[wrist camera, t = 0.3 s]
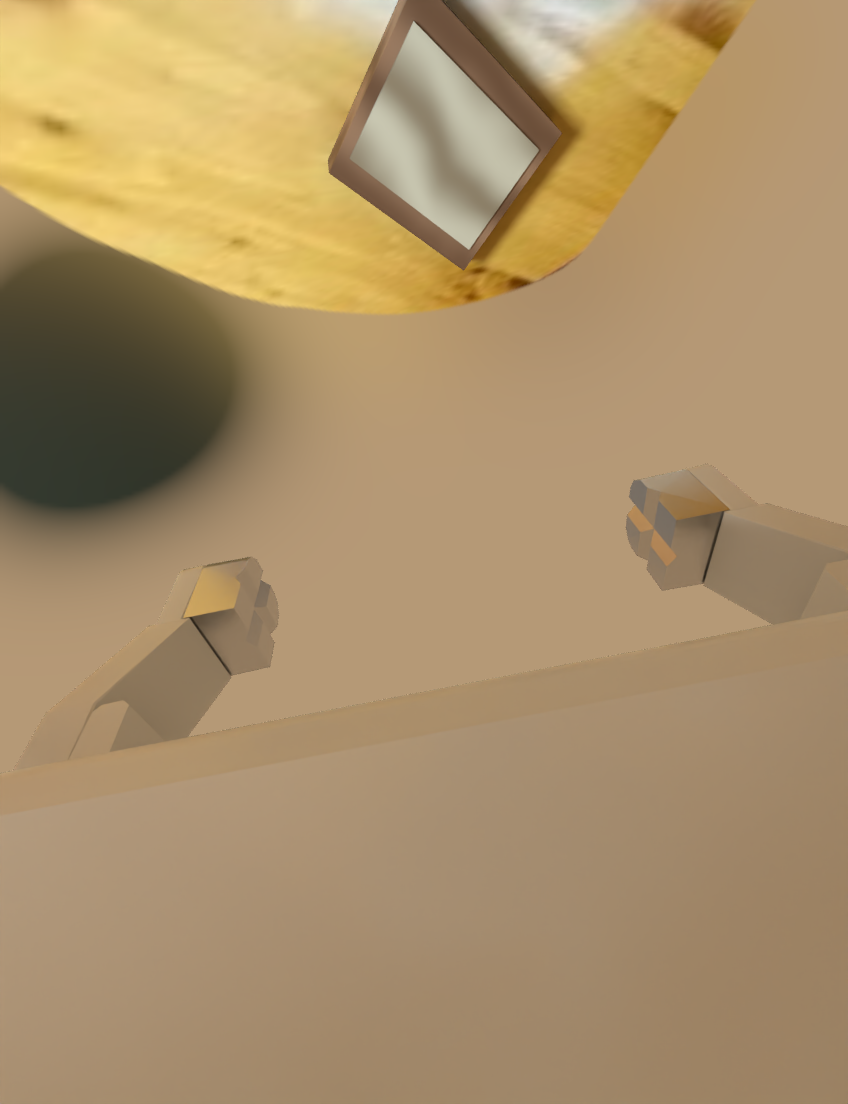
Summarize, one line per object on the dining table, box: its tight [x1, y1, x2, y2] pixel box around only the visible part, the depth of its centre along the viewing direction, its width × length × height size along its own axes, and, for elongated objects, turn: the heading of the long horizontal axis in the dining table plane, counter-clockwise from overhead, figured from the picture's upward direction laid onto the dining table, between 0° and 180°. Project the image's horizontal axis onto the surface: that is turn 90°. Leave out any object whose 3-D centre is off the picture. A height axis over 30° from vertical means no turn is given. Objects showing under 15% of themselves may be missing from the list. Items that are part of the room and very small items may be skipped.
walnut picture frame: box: [328, 0, 562, 270], centre depth 44 cm, size 14×16×3 cm
